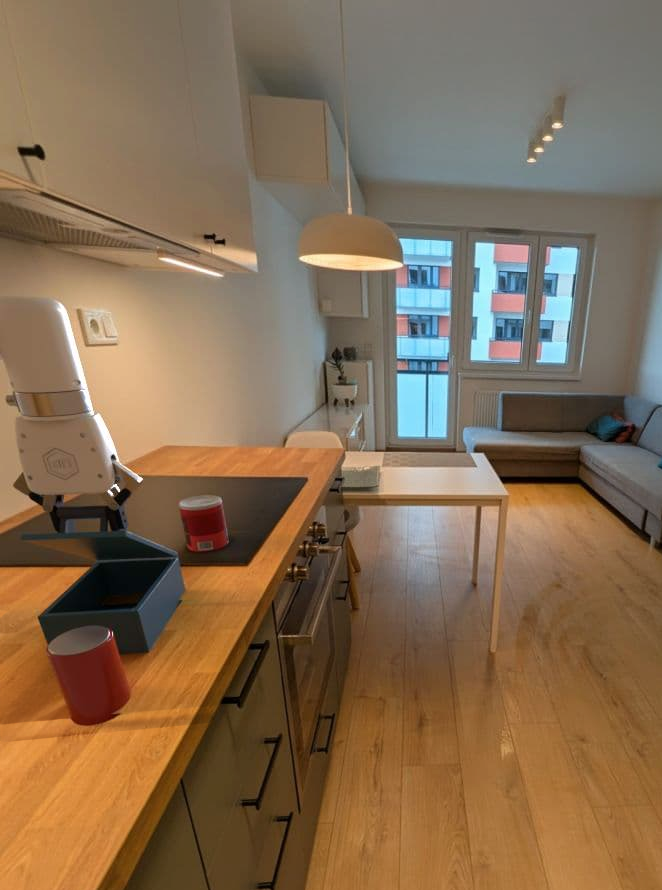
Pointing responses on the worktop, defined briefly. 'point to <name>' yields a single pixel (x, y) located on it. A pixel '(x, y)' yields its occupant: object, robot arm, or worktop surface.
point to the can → (89, 674)
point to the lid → (97, 538)
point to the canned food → (204, 523)
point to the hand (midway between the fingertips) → (94, 533)
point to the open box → (127, 621)
